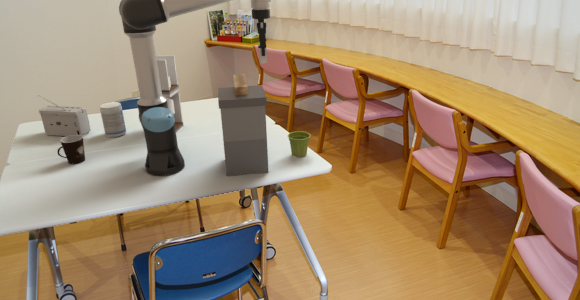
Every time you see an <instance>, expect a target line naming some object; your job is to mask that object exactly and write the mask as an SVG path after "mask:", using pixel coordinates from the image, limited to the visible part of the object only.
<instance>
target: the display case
mask: <svg viewBox="0 0 580 300" xmlns="http://www.w3.org/2000/svg"><path fill="white" fill-rule="evenodd" d="M156 59H157V65H158V72H159V78H160V84H161V90H162V95H163V96H164V97H165V98H167V103H168V109H170V110H171V111H172V112H173V116H174V118H175V130H176V133H178V131H179V130H181V129H182V128H183V127H184V118H183V112H182V104H181V96H180V88H179V82H178V81H179V79H178V73H177V72H178V71H177V64H176V56H175V55H173V54H171V55H167V54H166V55H165V54H164V55H162V54H161V55H159V54H156Z"/></svg>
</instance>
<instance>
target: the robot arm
mask: <svg viewBox="0 0 580 300" xmlns="http://www.w3.org/2000/svg"><path fill="white" fill-rule="evenodd" d="M232 1H233V0H121V1H120V2H119V6H118V13H119V15H120V17H121V18H120V19H121V23H122V27H123V28H122V29H123V33H124V35H126V36H127V37H128V38H129V42H130V43H129V44H130V49H131V55H132V59H133V64H134V69H135V76H136V81H137V88H138V92H139V93H138V94H139V99H138V100H137V102H136V104H137V110H138V119H139V120H138V121H139V123H140V124H141V127H142V130H143V134H144V139H145V145H146V151H147V153H146V158H145V162H144V163H145V164H144V168H145V172H146V173H147V174H148V175H150V176H155V177H163V176H170V175H174V174H177V173H179V172H180V171H182V170H184V169H185V166H186V164H185V159H184V157H183V154H182V153H181V150H180V149H179V146H178V136H177V132H176V130H175V118H174V116H173V112H172V111H171V110H170V109H168V103H167V98H165V97H164V96H163V95H162V90H161V84H160V78H159V72H158V65H157V59H156V55H157V53H156V48H155V40H154V34H155V33H156V32H157V27H156V26H158V25H161V24H164V23H168V22H169V20H170V19H171V18H174V17H177V16H181V15H185V14H189V13H193V12H196V11H199V10H203V9H206V8H210V7H214V6H217V5H220V4H224V3H229V2H232ZM271 2H272V0H250V7H251V8H252V9H251V19H253V20H257V22H256V30H257V34H258V46H257V48H258V49H259V62H260V65H264V64H268V57H267V53H268V52H267V38H266V34H267V22H265V20H268V19H270V18H271V9H270V5H271V4H270V3H271Z"/></svg>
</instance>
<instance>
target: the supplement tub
mask: <svg viewBox="0 0 580 300" xmlns="http://www.w3.org/2000/svg"><path fill="white" fill-rule="evenodd" d="M99 111H100V116H101V121H102V126H103V131H104V133H105V136H106V137H108V138H117V137H122V136H124V135H125V134H126V133H127V129H126V122H125V117H124V113H123V107H122V104H121V102H117V101H115V102H114V101H113V102H112V101H111V102H105V103H103V104H100V106H99Z"/></svg>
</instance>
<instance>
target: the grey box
mask: <svg viewBox="0 0 580 300" xmlns="http://www.w3.org/2000/svg"><path fill="white" fill-rule="evenodd" d="M247 88H248V95H235V87H234V86H229V87H228V86H227V87H218V88H217V90H218V91H217V94H218V95H217V99H218V109H220V117H221V118H220V119H221V128H222V129H221V130H222V140H223V149H224V150H223V151H224V161H225V172H226V173H225V174H226V177H232V176H244V175H254V174H256V175H257V174H265V173H269V172H270V171H269V157H268V152H269V150H268V135H267V133H268V132H267V116H266V115H267V114H266V106H267V105H268V104H267V101H268V100H267V96H266V93H265V90H264V87H263V85H261V84H260V85H247Z"/></svg>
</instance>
